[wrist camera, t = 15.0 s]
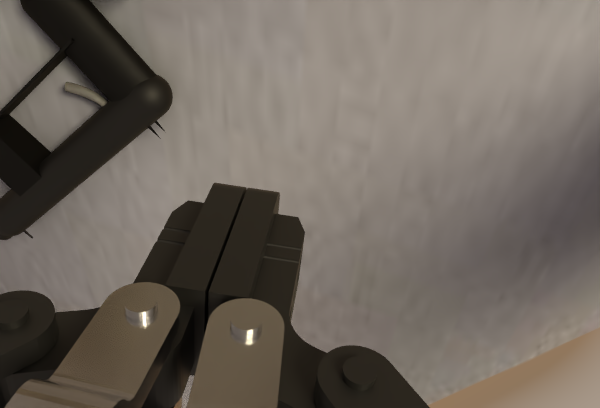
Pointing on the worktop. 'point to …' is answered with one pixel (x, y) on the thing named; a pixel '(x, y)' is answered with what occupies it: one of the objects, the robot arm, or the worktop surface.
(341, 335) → the worktop surface
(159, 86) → the door handle
